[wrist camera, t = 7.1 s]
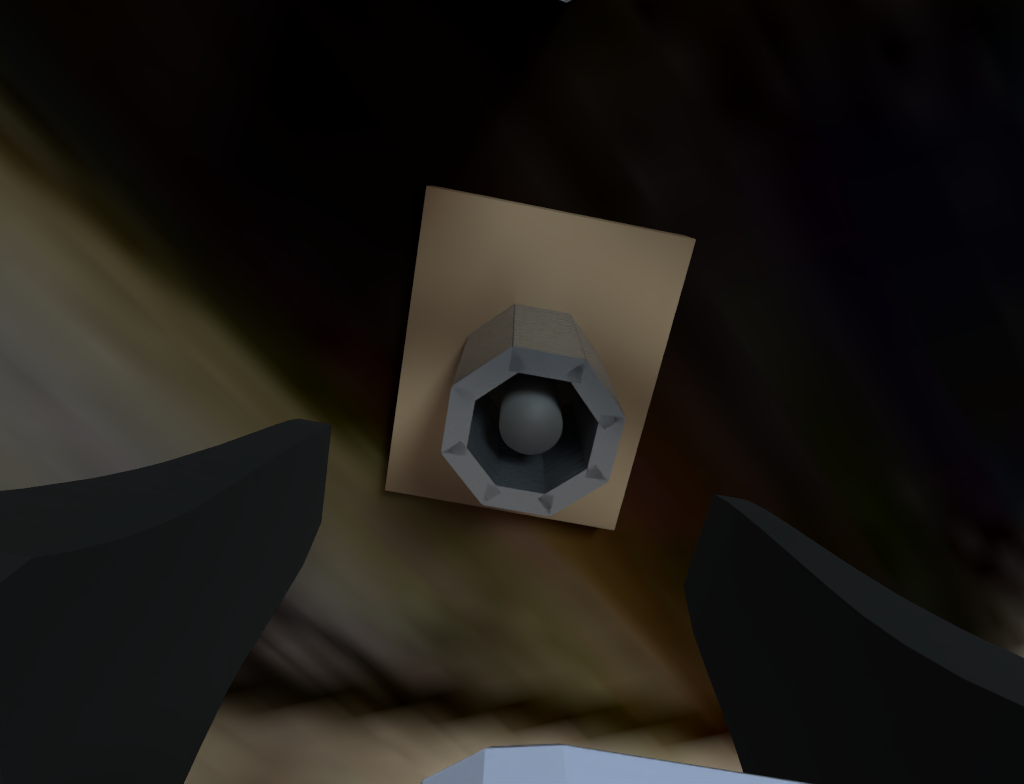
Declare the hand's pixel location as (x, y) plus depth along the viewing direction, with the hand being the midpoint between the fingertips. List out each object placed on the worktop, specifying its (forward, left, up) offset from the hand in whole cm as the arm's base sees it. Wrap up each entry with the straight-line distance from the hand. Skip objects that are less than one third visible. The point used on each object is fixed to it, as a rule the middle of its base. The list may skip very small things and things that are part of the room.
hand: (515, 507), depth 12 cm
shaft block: (0, 0, -10) cm, 10 cm away
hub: (0, 0, -9) cm, 9 cm away
